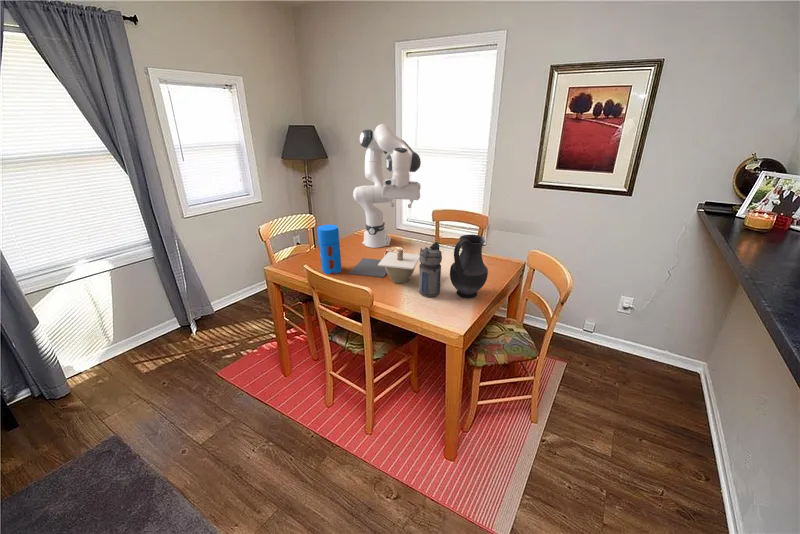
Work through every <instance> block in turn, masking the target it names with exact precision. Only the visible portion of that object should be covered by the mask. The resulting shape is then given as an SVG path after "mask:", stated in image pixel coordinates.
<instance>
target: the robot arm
mask: <svg viewBox="0 0 800 534" xmlns="http://www.w3.org/2000/svg"><path fill="white" fill-rule="evenodd" d="M374 129H375V130H374ZM374 129H363V131H361V133H360V135H359V143H360V146H361V147H363V148H366V151H365V155H364V156H365V157H364V177H365V178H366V180H368V181H370V182H372V183H373V184H374V185H360V186H356V187H355V188H354V189H353V192H352V196H353V199H354V201H355V202H356V203H357V204H359V205H360V206H361V208H362V209H363V211H364V214H365V215H364V216H365V223H366V224H365V231H364V232H363V241H361V243H362V245H364V246H365V247H367V248H374V249H375V248H376V249H377V248H382V247H387V246H388V247H389V246H390V243H391V240H392V237H391V236H389V235H388V230H387V229H385V225H386V222H385V221H384V213H383V211H382V210H381V209H380V208H377V207H376V206H375V205H374V204H386V203H390V208H394V207H395V203H394V202H393V200H408V201H409V202H410V203H408V204H407V208H408V209H411V208H412V205H413V203H414V201H419V200H420V198H421V183H419V182H418V181H410V173H416V172H417V171H418V170H419V169H420V167H421V165H422V164H421V157H420V155H419V154H418V153H417V152H415V151H414V150H413V148H411V147H410V145H409V144H408V143H407V142H406V141H405V140H403V139H402V138H400V137H398V136H397V135H396V134H395V133H394V131H393V130H392V129H391V127H390V126H389V125H388V124H386V123H380V124H378V125H377V126H376V127H375V128H374ZM383 153H384V155H386V154H388V153H389V154H388V155H387V156H386V158H385V167H386V170H388V171H389V172H390V173H392V176H391V177H389V178H386V179H384V175H383V159H382V157H383V156H382V155H383Z"/></svg>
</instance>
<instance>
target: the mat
mask: <svg viewBox="0 0 800 534" xmlns="http://www.w3.org/2000/svg"><path fill="white" fill-rule="evenodd" d="M381 260H382V259H378V258H377V259H375V258H368V257H367V258H364V257H363V258H362V259H361V260H360V261H359V262H358V263H357V264H356V265H355V266H354V267H353V268H352V269H351V270H350V271H349V272H348V275H355V276H363V277H364V276H365V277H373V278H379V279H384V278H385V276H386V275H388V274H387V272H386V269H385V267H383V266H378V264H379V263H380V261H381Z"/></svg>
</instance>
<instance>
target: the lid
mask: <svg viewBox="0 0 800 534" xmlns="http://www.w3.org/2000/svg"><path fill="white" fill-rule="evenodd" d="M380 260H381V261H380V263H379V264H378V266H383V267H392V268H402V269H411V270H413V269H414V267H415V268H416V265H417V264H418V262H419V261H420V253H419V254H417V253H407V252H406V253H405V252H404V250H403V249H402V248H399V249H397V250H396V251H388V252H386V254H385V255H384V256H383V258H382V259H380ZM414 270H415V269H414Z"/></svg>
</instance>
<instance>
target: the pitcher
mask: <svg viewBox="0 0 800 534" xmlns="http://www.w3.org/2000/svg"><path fill="white" fill-rule="evenodd" d="M458 239H459V240H458V241H457V242H456V244H455V247H454V249H453V260H454V262H452V264H451V265H450V269H449V279H450V281H451V284H452V285H453V287H454V288H455V289H456V292H455V293H456V295H457V296H458V297H460V298H462V299H465V300H467V299H468V300H469V299H473V298H476V297H477V295H478V293H477V292H478V291H480V290H481V289H482V288H483V287H484V286H485V284H486V282H487V280H488V275H489V269H488V267H487V266H486V265H485V262H484V260H483V254H482V253H483V251H482V249H483V246H484V244H485V242H486V239H485V237H484V236H481V235H478V234H462V235H461V236H459V238H458Z"/></svg>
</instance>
